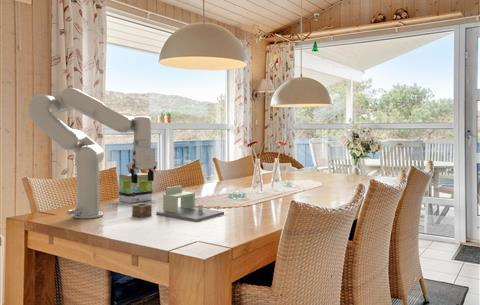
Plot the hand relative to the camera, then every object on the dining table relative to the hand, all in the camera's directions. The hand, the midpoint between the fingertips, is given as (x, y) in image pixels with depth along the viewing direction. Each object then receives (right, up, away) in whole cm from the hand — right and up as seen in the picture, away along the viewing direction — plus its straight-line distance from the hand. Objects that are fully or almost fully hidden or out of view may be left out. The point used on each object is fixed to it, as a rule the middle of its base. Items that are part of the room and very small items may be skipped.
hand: (142, 181), depth 185 cm
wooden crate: (-1, -15, +1) cm, 15 cm away
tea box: (-13, -13, +39) cm, 44 cm away
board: (+21, -16, +6) cm, 27 cm away
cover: (+15, -14, +10) cm, 23 cm away
